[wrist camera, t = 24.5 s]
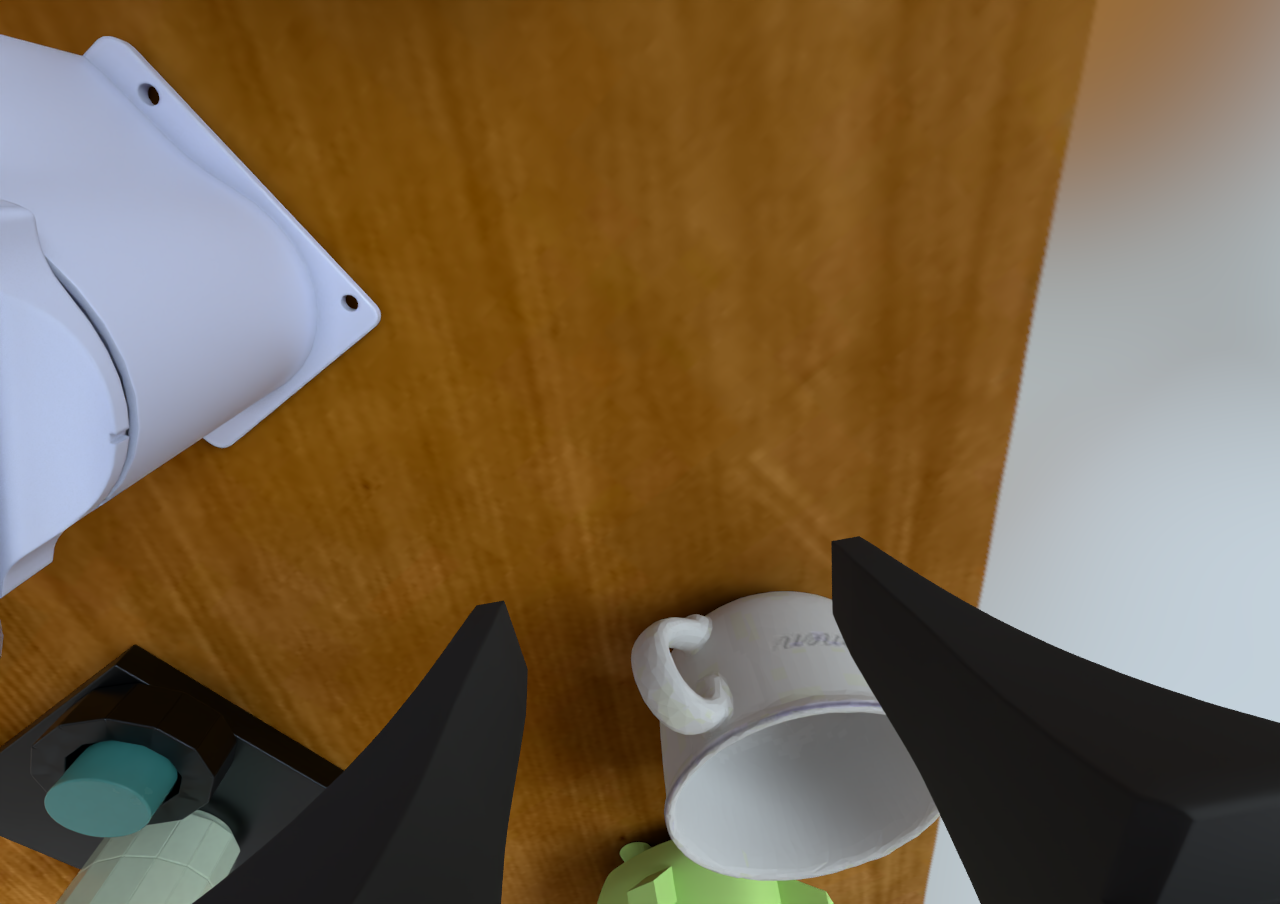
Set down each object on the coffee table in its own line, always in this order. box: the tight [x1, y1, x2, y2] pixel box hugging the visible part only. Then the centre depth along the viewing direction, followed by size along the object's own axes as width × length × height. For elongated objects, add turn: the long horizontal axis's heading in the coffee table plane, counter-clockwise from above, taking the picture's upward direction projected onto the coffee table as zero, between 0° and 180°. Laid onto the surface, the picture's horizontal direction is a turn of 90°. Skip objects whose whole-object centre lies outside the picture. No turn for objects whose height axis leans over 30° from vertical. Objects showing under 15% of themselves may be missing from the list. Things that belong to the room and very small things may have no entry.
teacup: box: [631, 591, 940, 881], centre depth 23 cm, size 14×11×8 cm
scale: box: [0, 645, 344, 873], centre depth 26 cm, size 15×14×3 cm
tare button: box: [44, 740, 178, 838], centre depth 22 cm, size 4×4×2 cm
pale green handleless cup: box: [56, 810, 240, 904], centre depth 25 cm, size 6×6×4 cm
